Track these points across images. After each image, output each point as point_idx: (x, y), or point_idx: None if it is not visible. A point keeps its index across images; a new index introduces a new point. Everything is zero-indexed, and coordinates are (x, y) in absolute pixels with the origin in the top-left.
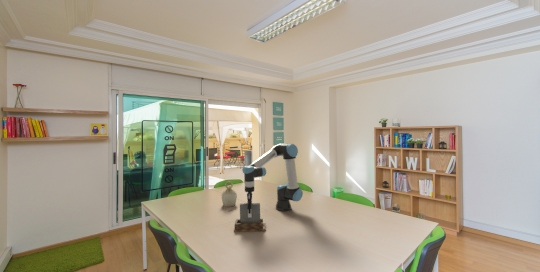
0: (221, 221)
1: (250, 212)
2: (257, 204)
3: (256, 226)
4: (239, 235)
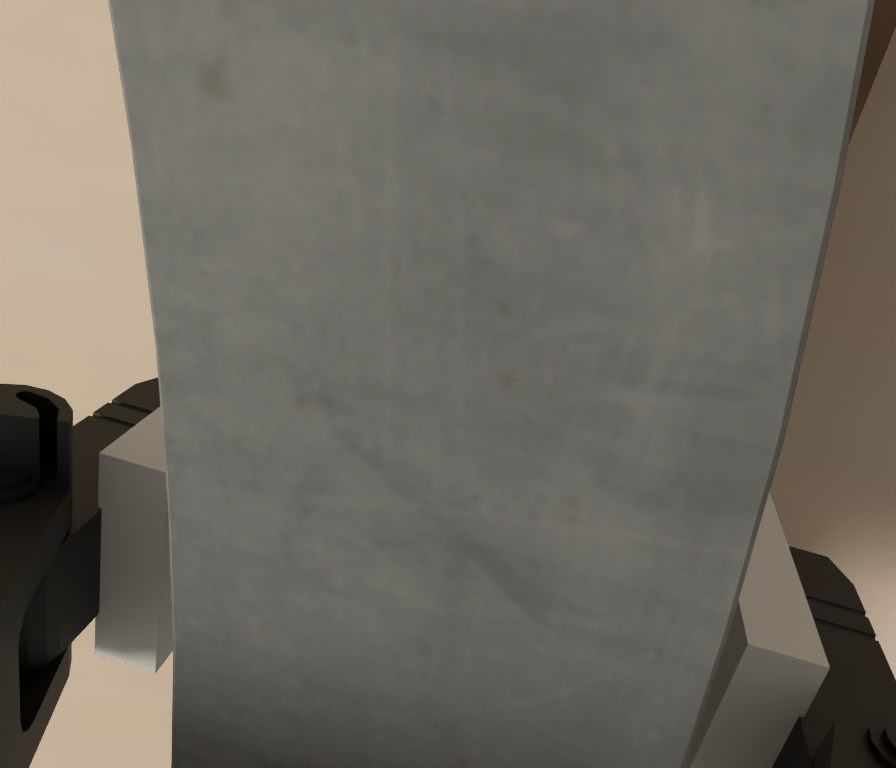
0: (60, 727)
1: (859, 602)
2: (846, 84)
3: None
4: (878, 586)
